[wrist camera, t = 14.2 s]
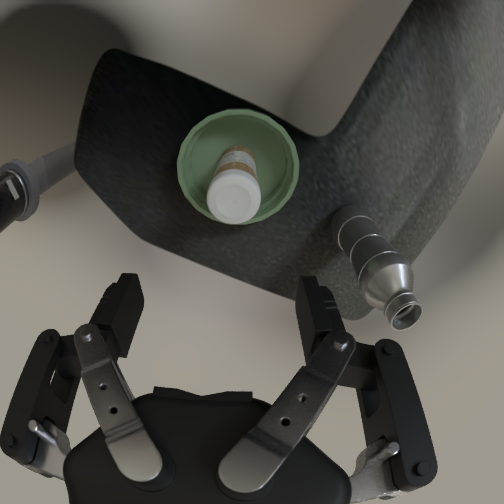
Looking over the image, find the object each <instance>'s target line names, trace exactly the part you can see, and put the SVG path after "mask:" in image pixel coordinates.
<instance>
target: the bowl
mask: <svg viewBox="0 0 504 504" xmlns="http://www.w3.org/2000/svg"><path fill="white" fill-rule="evenodd" d="M232 146H244V147H246V148H248V149H249V150H250V151H251V152H252V153H253V155H254V157H255V165H256V173H257V182H258V185H259V187H260V193H261V203H260V207H259V209H258V211H257V213H256V214H255V215H254V216H253V217H252V218H251V219H250V220H248V221H246V222H243V223H240V224H245V225H246V224H250V223H254V222H257V221H261V220H264V219H266V218H267V217H269V216H271V215H272V214H274V213H276V212H277V211H279V210H280V209H281V208H282V206H283V205H284V204H285V203H286V202H287V201H288V200H289V198H290V197H291V195H292V193H293V191H294V189H295V186H296V184H297V182H298V174H299V159H298V155H297V151H296V147H295V144H294V143H293V141H292V140H291V138H290V137H289V135H288V134H287V132H286V131H285V129H284V128H283V127H282V126H281V125H280V124H279V123H277V122H276V121H275V120H273V119H272V118H271V117H269V116H268V115H266V114H264V113H261V112H258V111H255V110H252V109H248V108H229V109H226V110H222V111H219V112H216V113H213V114H211V115H210V116H208V117H207V118H205V119H204V120H202V121H201V122H200V123H198V124H197V125H196V126H195V127H193V128H192V129H191V131H190V132H189V134H188V135H187V137H186V138H185V140H184V141H183V143H182V145H181V148H180V152H179V155H178V159H177V172H178V181H179V183H180V186H181V188H182V191H183V193H184V195H185V197H186V198H187V199H188V201H189V202H190V203H191V204H192V205H193V206H194V208H195V209H196V210H197V211H199V212H201V213H202V214H204V215H205V216H207V217H208V218H210V219H212V220H215V221H219V222H222V221H220V220H218V219H217V218H215V217H214V216H213V215H212V213H211V212H210V210H209V208H208V205H207V192H208V188H209V185H210V183H211V181H212V180H213V178H214V174H215V172H216V169H217V166H218V164H219V161H220V158H221V155H222V154H223V152H224V151H225V150H226V149H228V148H229V147H232ZM222 223H224V222H222ZM226 224H228V223H226Z"/></svg>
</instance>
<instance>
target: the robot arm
mask: <svg viewBox="0 0 504 504" xmlns="http://www.w3.org/2000/svg"><path fill="white" fill-rule="evenodd" d="M28 204H29V193H28V189H27V186H26V183H25V181H24V179H23V178H22V176H21V175H20V174H19V173H18V172H17V171H15V170H13V169H8V170H5V171H4V172H2V173H1V174H0V233H1V232H2V231H3V230H4V229H5V228H6V227H7V226H9V225H10V224H11V223H12V222H13V221H15V220H16V219H17V218H18V217H20V216H21V215H23V214H24V213H25V212H26V210H27V208H28ZM295 306H296V315H297V319H298V325H299V330H300V334H301V340H302V345H303V350H304V356H305V361H306V366H302V367H301V368H300V369H299V371H298V372H297V373H296V375H295V376H294V377H293V379H292V380H291V381H290V383H289V384H288V385H287V387H286V388H285V390H284V391H283V392H282V393H281V395H280V396H279V397H278V398H277V400H276V401H275V402H274V404H273V405H270V404H269V403H267V402H265V401H262V400H259V399H255V398H253V397H252V392H236V391H235V392H233V391H231V392H230V391H227V392H222V393H216V394H211V395H206V396H200V395H196V394H193V393H189V392H186V391H183V390H180V389H175V388H165V387H156V386H155V387H154V390H153V393H150V394H146V395H142V396H139V397H137V398H135V397H134V396H133V394H132V392H131V390H130V388H129V386H128V384H127V382H126V380H125V378H124V376H123V374H122V372H121V370H120V368H119V366H118V364H117V360H118V357H123V358H127V354H128V351H129V348H130V345H131V342H132V339H133V336H134V333H135V330H136V328H137V325H138V322H139V319H140V316H141V313H142V311H143V307H144V296H143V293H142V289H141V285H140V281H139V278H138V275H137V274H133V273H123V274H121V276H120V278H119V280H118V282H117V283H112V284H111V285H110V286H109V287H108V288H107V289H106V291H105V292H104V294H103V298H101V300H100V303H99V304H98V306H97V308H96V310H95V312H94V313H93V315H92V317H91V320H90V322H89V323H88V324H84V325H82V326H80V327H79V328H78V329H77V330H76V331H75V333H74V334H73V335H67V336H60V335H59V333H58V332H57V331H56V330H55V329H47V330H45V331H43V332H42V333H41V334H40V335H39V336H38V338H37V340H36V342H35V344H34V346H33V348H32V350H31V353H30V355H29V357H28V359H27V362H26V364H25V366H24V368H23V371H22V373H21V376H20V378H19V381H18V383H17V386H16V388H15V391H14V394H13V397H12V399H11V402H10V405H9V408H8V411H7V414H6V418H5V421H4V424H3V427H2V431H1V435H0V447H1V449H2V451H3V452H4V453H5V454H6V455H7V456H9V457H11V458H12V459H14V460H15V461H17V462H18V463H19V464H21V465H22V466H25V467H26V468H28V469H30V470H32V471H33V472H36V473H39V474H41V475H43V476H45V477H48V478H52V477H56V478H58V479H61V480H64V481H65V484H66V487H67V490H68V495H69V503H70V504H352V503H357V502H362V501H366V500H371V499H375V498H380V499H383V500H386V499H391V498H394V497H397V496H400V495H402V494H405V493H408V492H410V491H413V490H415V489H418V488H420V487H423V486H425V485H427V484H429V483H430V482H431V481H432V480H433V479H434V477H435V476H436V473H437V469H438V468H437V467H438V466H437V460H436V456H435V452H434V448H433V444H432V440H431V436H430V432H429V429H428V425H427V421H426V418H425V414H424V411H423V408H422V404H421V401H420V398H419V395H418V392H417V389H416V386H415V383H414V380H413V377H412V374H411V371H410V369H409V366H408V363H407V360H406V358H405V355H404V352H403V350H402V348H401V346H400V345H399V344H398V343H397V342H395V341H393V340H390V339H382V340H379V341H378V342H377V343H376V344H375V346H374V345H367V344H363V343H359V342H356V341H355V339H354V338H353V336H352V335H351V334H349V333H348V332H346V330H345V327H344V324H343V321H342V319H341V316H340V313H339V310H338V309H337V305H336V302H335V299H334V296H333V294H332V292H331V291H330V290H329V289H328V288H327V287H326V286H319V284H318V281H317V278H316V276H300V278H299V283H298V289H297V295H296V303H295ZM54 370H55V373H54V376H53V379H52V382H51V384H50V381H51V378H52V375H53V372H54ZM81 377H82V380H83V383H84V385H85V388H86V391H87V394H88V397H89V399H90V402H91V405H92V407H93V410H94V412H95V415H96V417H97V419H98V422H99V424H100V427H99V428H98V429H97V430H95V431H94V432H93V433H92V434H91V435H89V436H88V437H87V438H85V439H84V440H83V441H82V442H80V443H79V444H78V445H77V446H76V447H74V448H73V449H72V450H71V448H70V442H69V439H68V437H67V435H66V431H67V427H68V422H69V418H70V414H71V410H72V407H73V403H74V399H75V395H76V392H77V389H78V385H79V382H80V379H81ZM337 385H340V386H346V387H352V388H356V392H357V397H358V401H359V407H360V412H361V417H362V423H363V428H364V434H365V440H366V446H367V448H366V449H364V450H363V451H362V452H361V453H360V454H359V456H358V457H357V460H356V469H355V471H354V473H353V475H352V476H351V477H348V475H347V474H346V472H345V471H344V470H343V469H342V468H341V467H340V466H338V465H337V464H336V463H335V462H334V461H332V460H331V459H330V458H329V457H328V456H327V455H326V454H325V453H323V452H322V451H321V450H320V449H319V448H318V447H317V446H316V445H315V444H313V443H312V442H311V441H310V440H309V439H308V438H307V437H306V435H307V433H308V432H309V430H310V429H311V428H312V426H313V424H314V423H315V421H316V420H317V418H318V416H319V415H320V413H321V412H322V410H323V408H324V407H325V405H326V403H327V402H328V400H329V399H330V397H331V395H332V393H333V392H334V390H335V388H336V387H337Z"/></svg>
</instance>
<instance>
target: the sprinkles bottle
mask: <svg viewBox="0 0 504 504" xmlns="http://www.w3.org/2000/svg"><path fill="white" fill-rule="evenodd" d="M260 203H261V193H260V187H259V185H258V182H257V173H256V165H255V157H254V155H253V153H252V152H251V151H250V150H249V149H248V148H246V147H244V146H232V147H229V148H228V149H226V150H225V151H224V152H223V154H222V155H221V158H220V161H219V164H218V166H217V169H216V172H215V174H214V178H213V180H212V181H211V183H210V185H209V188H208V192H207V205H208V208H209V210H210V212H211V213H212V215H213V216H214V217H215V218H217V219H218V220H220V221H222V222H224V223H228V224H240V223H243V222H246V221H248V220H250V219H251V218H252V217H253V216H254V215H255V214H256V213H257V211H258V209H259V207H260Z"/></svg>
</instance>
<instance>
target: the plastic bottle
mask: <svg viewBox="0 0 504 504" xmlns="http://www.w3.org/2000/svg"><path fill="white" fill-rule="evenodd" d="M331 232H332V236H333V239H334V241H335V242H336V243H337V245H338V246H339V247H340V248H341V249H342V250H343V251H344V252H345V254H346V255H347V257H348V258H349V260H350V262H351V264H352V266H353V269H354V271H355V274H356V278H357V282H358V285H359V289H360V292H361V295H362V297H363V298H364V300H365V301H366V302H367V303H368V304H369V305H371V306H372V307H374V308H377V309H379V310H382V311H384V315H385V317H386V319H387V320H388V321H389V323H390V325H391V327H392V328H393V329H394V330H397V331H402V330H406V329H408V328H410V327H412V326H413V325H414V324H416V323H417V322H418V320H419V319H420V318H421V316H422V313H423V308H422V305H421V303H420V302H419V300H418V297H417V295H416V293H415V292H414V291H413V288H414V273H413V270H412V267H411V265H410V263H409V262H408V261H407V259H406V258H405V257H404V256H402V255H401V254H400V253H399V252H398V251H397V250H396V249H395V248H393V247H392V246H391V245H390V244H389V242H388V241H387V240H386V239H385V238H384V237H383V236H382V234H381V233H380V231H379V229H378V228H377V226H376V223H375V221H374V219H373V217H372V216H371V214H370V213H369V212H368V211H367V210H365V209H364V208H362V207H360V206H358V205H347V206H344V207H342V208H340V209H339V210H338V211H337V212H336V213H335V215H334V216H333V218H332V221H331Z"/></svg>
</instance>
